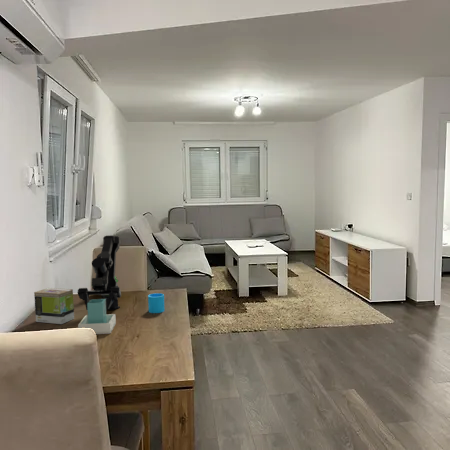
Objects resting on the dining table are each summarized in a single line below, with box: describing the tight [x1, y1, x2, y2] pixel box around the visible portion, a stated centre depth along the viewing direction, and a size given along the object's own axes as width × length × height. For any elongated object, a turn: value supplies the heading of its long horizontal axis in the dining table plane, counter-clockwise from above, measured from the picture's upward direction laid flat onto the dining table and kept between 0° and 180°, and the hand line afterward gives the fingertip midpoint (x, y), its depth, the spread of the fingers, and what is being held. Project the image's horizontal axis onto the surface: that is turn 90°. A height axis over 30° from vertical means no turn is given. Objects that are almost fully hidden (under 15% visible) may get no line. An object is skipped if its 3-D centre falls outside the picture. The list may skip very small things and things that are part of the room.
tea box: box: [33, 287, 75, 325], centre depth 209 cm, size 15×10×15 cm
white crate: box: [77, 313, 117, 335], centre depth 195 cm, size 14×14×4 cm
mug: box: [147, 292, 165, 314], centre depth 224 cm, size 12×8×8 cm
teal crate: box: [87, 298, 107, 324], centre depth 195 cm, size 7×7×12 cm
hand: (97, 309), depth 196 cm, fingers open, 9 cm apart
